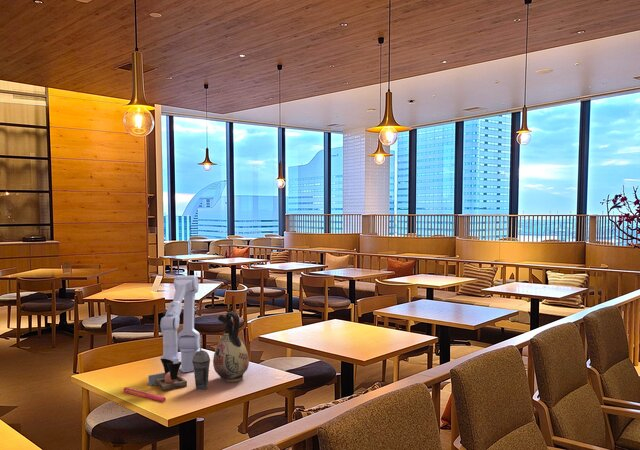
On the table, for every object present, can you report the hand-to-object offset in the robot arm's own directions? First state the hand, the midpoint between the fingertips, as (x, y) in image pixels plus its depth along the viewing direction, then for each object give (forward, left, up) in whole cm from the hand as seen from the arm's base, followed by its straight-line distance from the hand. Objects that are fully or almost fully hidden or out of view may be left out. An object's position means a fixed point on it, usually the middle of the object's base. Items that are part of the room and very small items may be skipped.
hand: (171, 377), depth 206 cm
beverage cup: (-9, +12, -4) cm, 15 cm away
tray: (0, 0, -4) cm, 4 cm away
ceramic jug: (-24, +9, -4) cm, 26 cm away
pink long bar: (+12, +6, -4) cm, 14 cm away
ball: (0, 0, -3) cm, 3 cm away
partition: (+2, -6, -4) cm, 8 cm away
